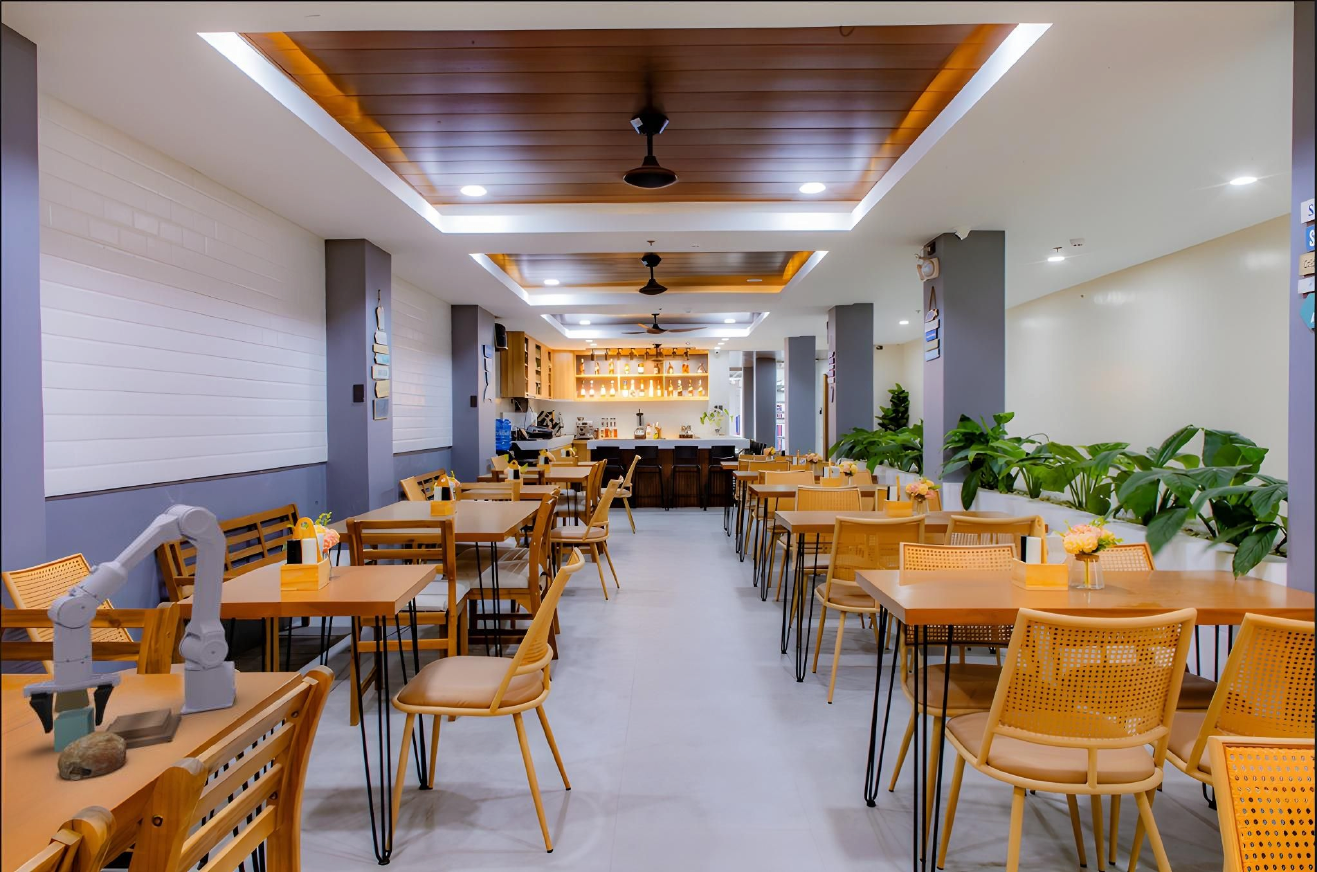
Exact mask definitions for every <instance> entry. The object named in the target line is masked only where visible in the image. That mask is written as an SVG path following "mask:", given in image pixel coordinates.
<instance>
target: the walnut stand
mask: <svg viewBox="0 0 1317 872" xmlns="http://www.w3.org/2000/svg"><path fill="white" fill-rule="evenodd" d="M181 720H182V714H181V713H180V712H179V713H172V708H171V707H170V708H169V707H168V708H163V709H158V710H157V709H156V710H151V711H144V712H138V713H137V712H136V713H131V714H130V713H129V714H125V715H118V716H117V717H116V718H115V719H114V721H113V722H112V723H109V725H108V727H107V729H106V730H105V732H110V733H114V734H116V735H117V736H120V737H121V738H123V739H124V740H125V741H126V750H129V749H135V748H141V747H147V746H153V745H158V744H159V743H160V744H163V743H164V742H166V743H169V742H168V741H171V742H172V740H173V738H174V736H175V733H176V731H177V729H178V727H179V725H180V722H181ZM164 744H165V743H164Z"/></svg>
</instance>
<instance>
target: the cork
mask: <svg viewBox="0 0 1317 872" xmlns="http://www.w3.org/2000/svg"><path fill="white" fill-rule="evenodd" d="M55 695H56V696H55V701H54V702H55V703H54V713H58V714H60V713H61V712H62V711H69V710H75V709H82V708H84V707H85V708H88V707H89V706H90V705H89V703H90V704H91V702H90V698H89V692H88V689H81V690H73V691H66V692H58V693H55ZM88 705H89V706H88Z"/></svg>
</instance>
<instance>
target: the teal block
mask: <svg viewBox="0 0 1317 872" xmlns="http://www.w3.org/2000/svg"><path fill="white" fill-rule="evenodd" d="M95 727H96V726H95V706H91V707H90V706H88V707H85V708H82V709H75V710H69V711H62V712H61V713H58V715H57V717H56V718H55V719H53V740H54V742H53V744H54V753H59V752H60V753H61V752H62V751H63V750H64V749H65V748H66V747H67V746H68V745H69V744H70V743H73V742H75V741H76V740H78V739H80V738H82V737H85V736H86V735H89V734H91V733H93V732H96V731H95V729H96V728H95Z"/></svg>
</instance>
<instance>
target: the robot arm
mask: <svg viewBox="0 0 1317 872" xmlns="http://www.w3.org/2000/svg"><path fill="white" fill-rule="evenodd" d="M217 520H218V519H217V515H216V514H214V513H212V512H211V511H210V510H208V509H207V508H206V507H205V508H204V507H202V506H192V505H187V504H183V503H182V504H181V503H179V504H174V505H171V506H170V507H168V509H166V510H165V512H164V513H162V514H160V515H158V516H156V518H155V519H154V520H153V521H152V523H151V524H150V525H149V526H148V527H147V528H146V529H145V530H144V531H143V532H142V533H141V534H140V535H139V536H138V537H136V539H135V540H134V541H132V542H131V543H130V545H128V547H126V549H124V550H123V551H122V552H121V553H120V554H119V555H118V556H117V557H116V558H115V559H114V560H113V561H109V562H100V564H99V565H98V566H97V565H92V567H91V568H89V570H88V572H90V573H89V574H87V575H86V576H85V577H84V578H83V579H82V580H81V581H80V582H78V583H77V584H76V585H75V586H74V587H73V586H70V587H69V588H68V589H66V590H67V592H68V593H66V594H65V595H64V594H63V595H60V596H59V597H57V598H55V600H54V601H52V602H51V604H50V608H49V610H47V617H48V618H49V620H51V621H52V623H53V635H52V648H53V649H52V651H53V653H52V655H53V679H51V680H46V681H41V682H37V683H30V684H26V685H25V686H24V687H22V689H23V693H22V694H23V695H22V696H23V699H28V698H30V700H29V701H28V703H29V706H30V707H31V708H32V709H33V710H34V712H35V713H36V715H37V716H38V718H39V719H40V720H39V721H40V722H41V724H42V727H43V730H44V731H43V732H44V734H47V735H48V734H50V733H51V732H52V731H54V713H53V708H54V707H53V706H54V695H55V694H57V693H58V692H66V691H73V690H81V689H87V690H88V689H95V688H96V689H95V690H94V691H93V694H92V695H93V699H94V723H95V727H97V726H99V727H100V726H101V725H102V723H103V720H104V714H105V711H106V707H107V704H108V701H109V699H110V696H111V694H112V693H113V691H114V689H115V687H118V686H120V685H121V682H122V675H121V672H117V673H103V674H101V673H99V674H98V673H97V674H93V655H92V654H93V651H92V650H93V649H92V648H93V647H92V643H93V642H92V630H91V629H92V628H91V627H92V626H91V625H92V624H91V621H93V620H94V619H95V617H96V615H97V610H98V608H100V607H101V605H103V604H105V602H106V601H107V600H108V599H110V598H111V597H112V596H113V595H114V594H115V593H117V591H118V590H119V589H120V588H122V586H123V585H124V584H126V583H127V582H128V577H129V576H128V574H129V571H131V570H132V569H133V568H134V567H136V565H138V564H139V563H140V562H141V561H143V560H144V559H145V558H146V557H147V556H148V555H150V554H151V553H152V552H154V551H155V550H156V549H157V548H158V547H160V545H163V544H164V543H168V542H172V541H173V542H174V541H178V540H182V539H183V538H185V539H186V540H187V541H188V542H189V543H190V544H192V545H193V546H194V547H195V548H196V549H197V550H196V559H195V560H196V561H195V571H194V572H195V573H194V582H193V595H192V607H191V619H190V622H189V621H188V623H187V625H186V626H185V628H184V629H185V631H184V635H183V638H182V639H181V641H180V642H179V646H178V652H179V654H180V656H181V657H182V658H184V659H185V660H184V661H185V663H184V665H183V667H184V668H183V673H184V674H183V677H184V703H183V705H182V707H181V710H180V712H179V713H181V715H185V714H191V713H192V714H193V713H200V712H204V711H211V710H217V709H223V708H231V707H233V705H234V700H235V697H236V694H237V687H236V677H235V676H236V674H235V673H236V672H235V661H225V658H227V656H228V653H229V646H228V642H227V641H226V637H225V634H226V630H225V629H224V627H223V624H222V623H221V619H220V618H221V607H222V605H221V604H222V594H223V593H222V592H223V583H224V571H225V559H226V549H227V548H226V547H227V539H226V536H225V534H224V532H223V531H222V529H221V526H220V524H219V523H218V521H217Z"/></svg>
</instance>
